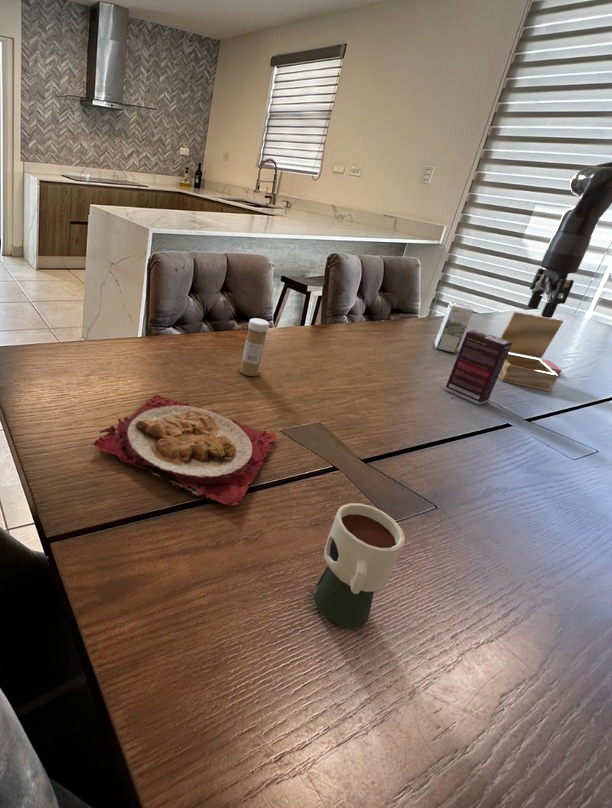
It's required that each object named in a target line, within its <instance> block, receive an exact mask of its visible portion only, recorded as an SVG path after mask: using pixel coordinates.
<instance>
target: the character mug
mask: <svg viewBox="0 0 612 808" xmlns="http://www.w3.org/2000/svg"><path fill="white" fill-rule="evenodd" d="M326 540H327V541H326V544H325V546H324V549H323V558H324V561H325V563H326V565H327V566H326V568H325V570H324V571H323V573H322V574H321V576H320V578H319V579H318V582H317V584H316V586H315V588H314V590H315V593H314V594H313V600H314V603H315V607H316V608H317V610H318V611H319V612H320V613H321V614H322V615H323V617H324V618H325V619H326V620H328V621H331V622H333V623H335V624H337V625H340V626H342V627H345V628H350V629H355V628H362V627H363V626H364V625H365V624H366V623H367V622H368V621H369V618H370V617H369V616H370V613H371V609H372V605H373V599H374V594H375V593H376V592H379V591H381V590H382V589H385V588H386V586H387V585H388V583H389V580H390V578H391V576H392V573H393V571H394V568H395V566H396V565H397V561H398V560H399V557H400V554H401V551H402V549H403V546H404V543H405V541H406V538H405V534H404V531H403V529H402V528H401V527H400V525H399V524H398V523H397V522H396V520H395V519H394V518H392V517H391V516H389V515H388V514H387V513H385V512H384V511H382V510H381V509H378V508H376V507H374V506H372V505H367V504H363V503H354V502H353V503H350V502H349V503H346V504H344V505H341V506H340V507H339V508H338V509H337V511H336V514H335V517H334V519H333V523H332V526H331V529H330V532H329V534H328V537H327V539H326Z"/></svg>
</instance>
